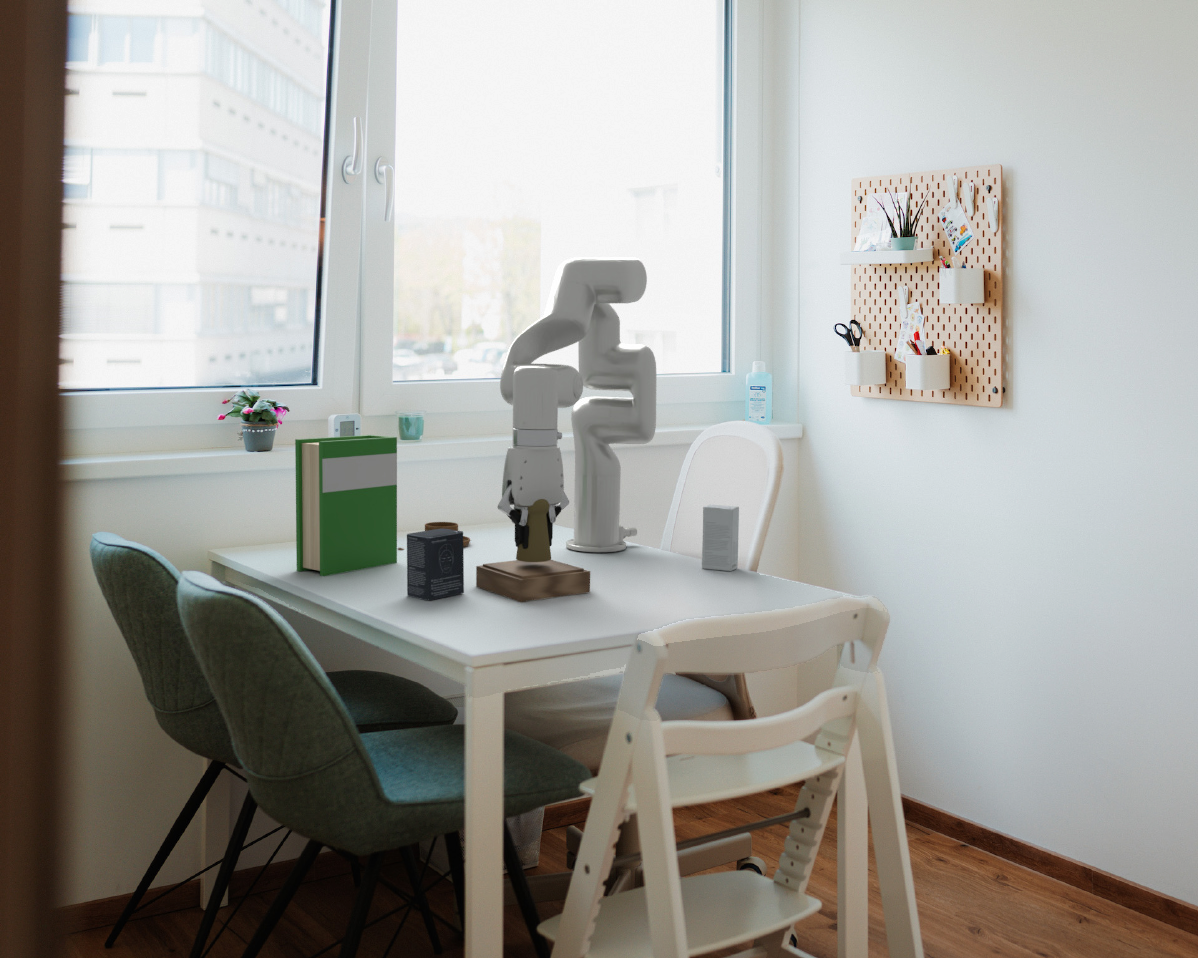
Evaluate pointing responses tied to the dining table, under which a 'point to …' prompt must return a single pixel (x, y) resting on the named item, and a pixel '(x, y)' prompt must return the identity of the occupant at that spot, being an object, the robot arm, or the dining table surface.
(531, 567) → the walnut plinth
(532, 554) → the cork
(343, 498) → the hardback book
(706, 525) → the skincare box
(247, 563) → the dining table surface
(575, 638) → the dining table surface
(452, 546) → the box
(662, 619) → the dining table surface
